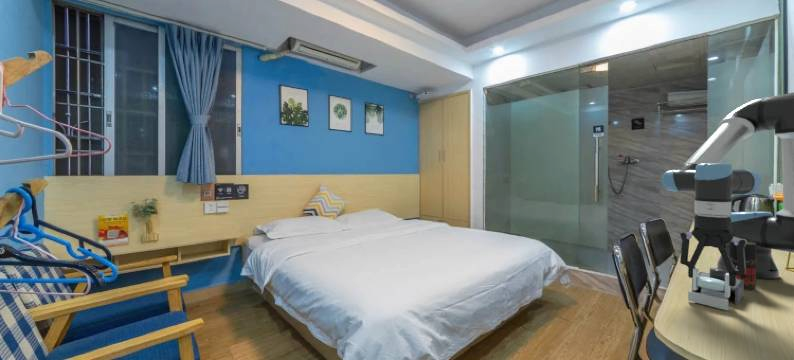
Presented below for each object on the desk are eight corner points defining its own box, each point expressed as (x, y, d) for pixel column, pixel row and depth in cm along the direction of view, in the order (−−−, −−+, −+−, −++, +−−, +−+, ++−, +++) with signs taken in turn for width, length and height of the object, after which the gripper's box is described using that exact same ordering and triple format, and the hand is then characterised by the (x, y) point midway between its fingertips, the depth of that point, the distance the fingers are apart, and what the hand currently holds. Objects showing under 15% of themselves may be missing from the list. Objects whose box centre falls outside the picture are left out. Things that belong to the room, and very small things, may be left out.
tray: (697, 291, 95) (697, 282, 95) (734, 300, 89) (735, 290, 89) (688, 300, 89) (688, 291, 89) (727, 310, 82) (727, 300, 82)
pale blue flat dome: (721, 285, 90) (721, 279, 90) (729, 292, 85) (730, 285, 85) (693, 281, 93) (693, 275, 93) (700, 288, 88) (700, 281, 88)
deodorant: (725, 285, 101) (725, 241, 101) (733, 282, 103) (733, 239, 103) (750, 291, 96) (751, 245, 95) (759, 288, 98) (759, 243, 97)
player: (700, 285, 101) (700, 263, 101) (743, 295, 93) (744, 270, 93) (692, 293, 95) (692, 269, 95) (737, 304, 87) (738, 278, 87)
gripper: (666, 213, 94) (665, 285, 94) (760, 220, 78) (759, 307, 79) (673, 211, 98) (672, 280, 99) (764, 217, 83) (762, 300, 83)
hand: (710, 292), depth 89 cm, fingers closed on pale blue flat dome, 6 cm apart
